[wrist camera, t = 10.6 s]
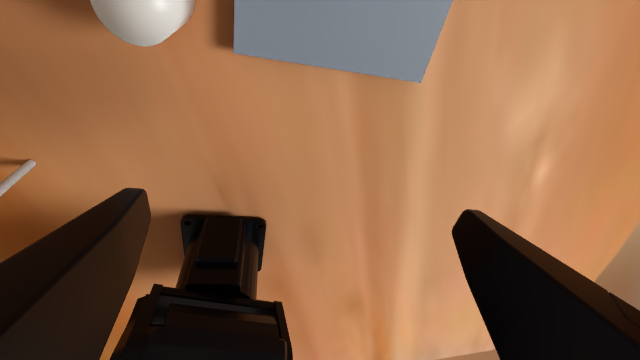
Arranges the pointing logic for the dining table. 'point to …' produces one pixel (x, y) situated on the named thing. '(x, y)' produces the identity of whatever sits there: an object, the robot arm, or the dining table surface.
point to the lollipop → (16, 176)
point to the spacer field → (143, 18)
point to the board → (343, 33)
